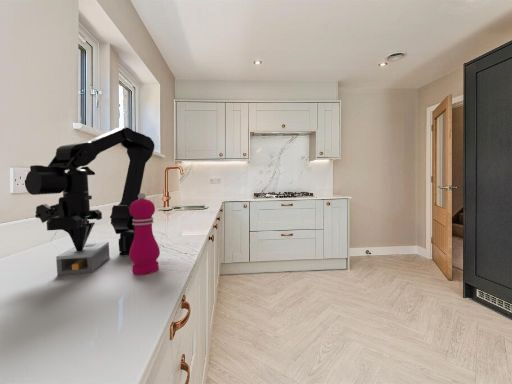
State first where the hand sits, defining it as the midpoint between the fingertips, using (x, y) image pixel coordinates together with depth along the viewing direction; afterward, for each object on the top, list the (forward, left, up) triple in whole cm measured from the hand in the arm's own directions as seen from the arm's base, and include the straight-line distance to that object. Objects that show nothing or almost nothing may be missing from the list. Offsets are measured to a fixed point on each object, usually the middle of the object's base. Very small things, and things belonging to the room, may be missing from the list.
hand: (79, 251), depth 73 cm
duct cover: (0, -3, -1) cm, 4 cm away
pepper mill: (-18, +7, -5) cm, 19 cm away
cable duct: (0, -3, -5) cm, 6 cm away
